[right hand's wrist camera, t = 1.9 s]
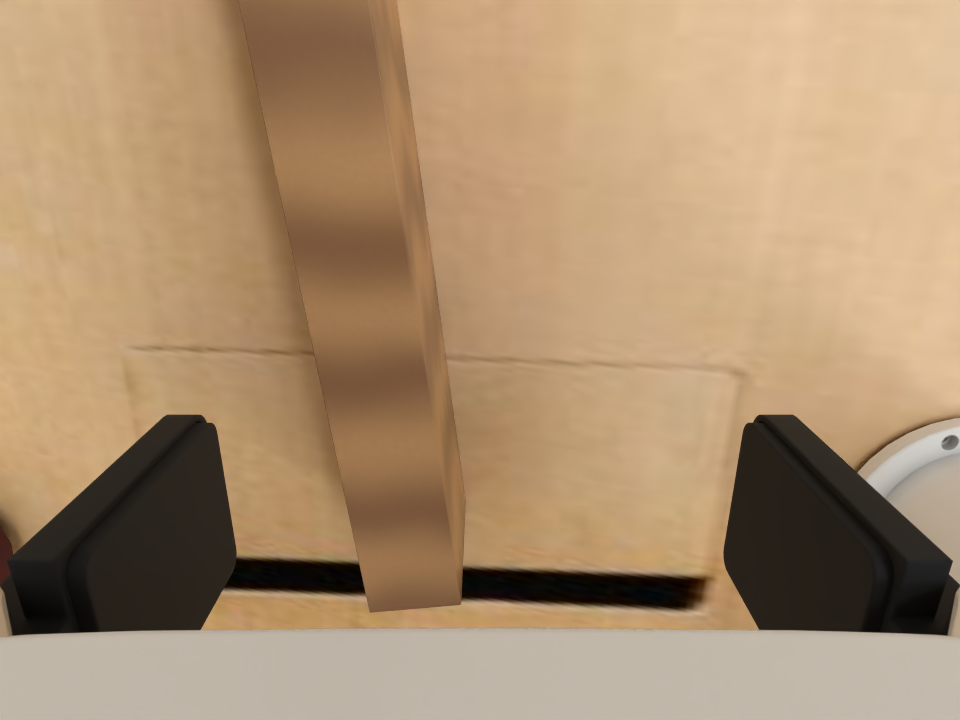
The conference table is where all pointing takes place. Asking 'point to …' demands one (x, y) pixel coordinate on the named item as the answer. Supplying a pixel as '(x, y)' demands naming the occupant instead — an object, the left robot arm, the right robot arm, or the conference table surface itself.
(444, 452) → the bar
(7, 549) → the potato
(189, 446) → the right robot arm
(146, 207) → the conference table surface
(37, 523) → the conference table surface
